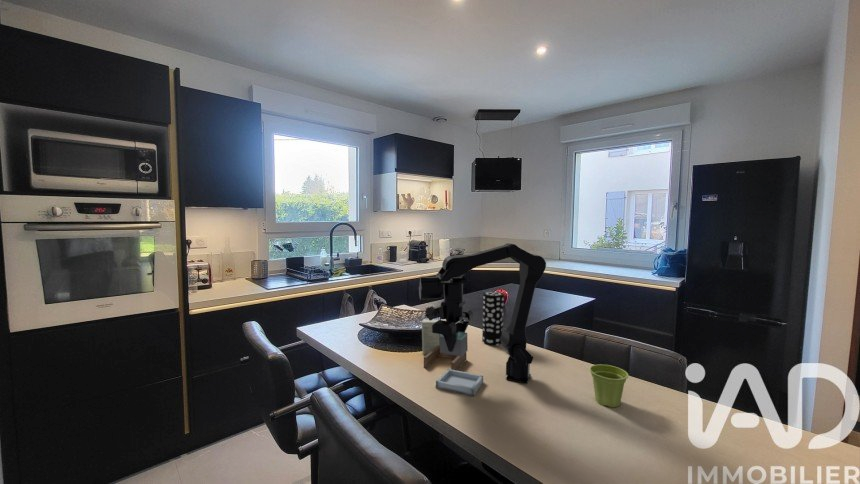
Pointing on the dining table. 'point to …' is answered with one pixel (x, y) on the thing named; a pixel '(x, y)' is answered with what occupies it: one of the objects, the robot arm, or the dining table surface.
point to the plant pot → (608, 384)
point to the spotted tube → (492, 317)
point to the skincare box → (429, 336)
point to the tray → (460, 382)
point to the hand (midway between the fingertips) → (454, 348)
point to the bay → (436, 353)
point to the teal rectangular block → (459, 346)
